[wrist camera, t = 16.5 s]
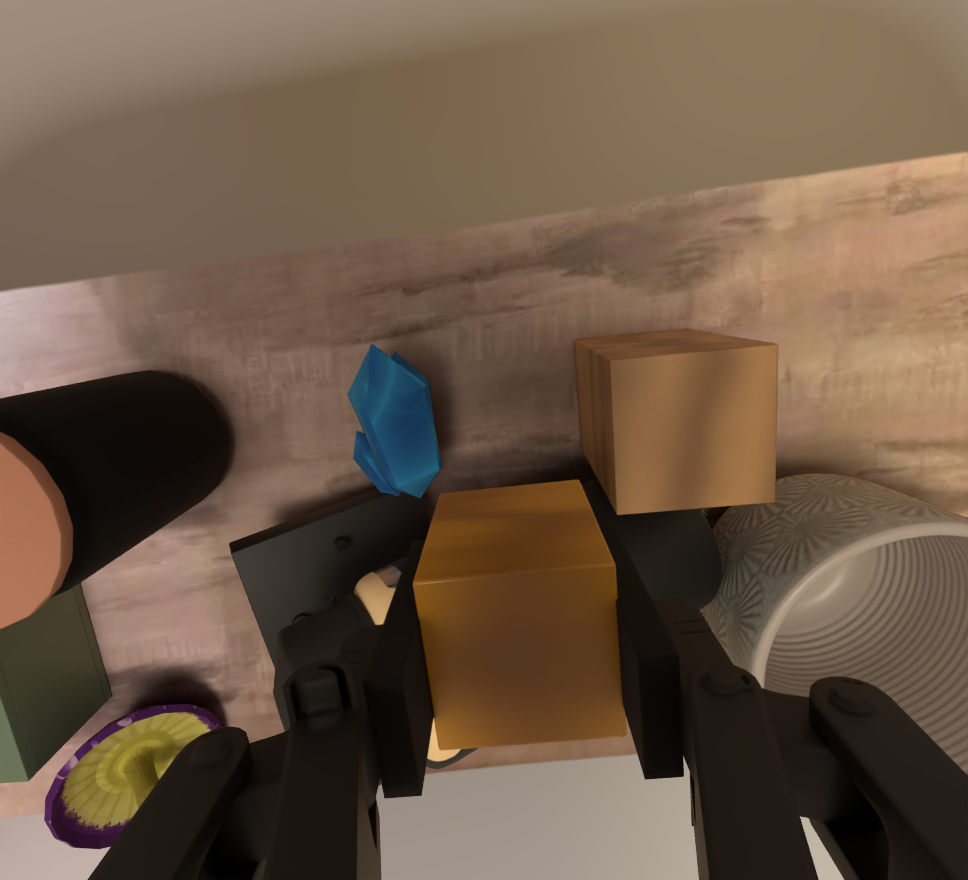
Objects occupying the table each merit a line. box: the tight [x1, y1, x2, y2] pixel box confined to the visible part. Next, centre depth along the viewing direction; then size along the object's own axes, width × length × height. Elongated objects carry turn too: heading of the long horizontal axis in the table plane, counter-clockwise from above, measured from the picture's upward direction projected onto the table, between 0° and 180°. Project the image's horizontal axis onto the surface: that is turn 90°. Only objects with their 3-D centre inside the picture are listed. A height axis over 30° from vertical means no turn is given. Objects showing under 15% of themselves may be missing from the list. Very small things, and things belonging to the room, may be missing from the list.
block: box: [413, 480, 627, 750], centre depth 16 cm, size 4×4×6 cm
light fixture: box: [229, 478, 722, 786], centre depth 38 cm, size 13×18×26 cm
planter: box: [703, 473, 968, 775], centre depth 38 cm, size 17×17×15 cm
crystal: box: [348, 344, 442, 498], centre depth 39 cm, size 7×9×12 cm
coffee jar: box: [0, 370, 229, 629], centre depth 36 cm, size 11×11×18 cm
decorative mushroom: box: [44, 704, 222, 849], centre depth 45 cm, size 12×12×15 cm
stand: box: [574, 329, 778, 515], centre depth 36 cm, size 8×8×14 cm
